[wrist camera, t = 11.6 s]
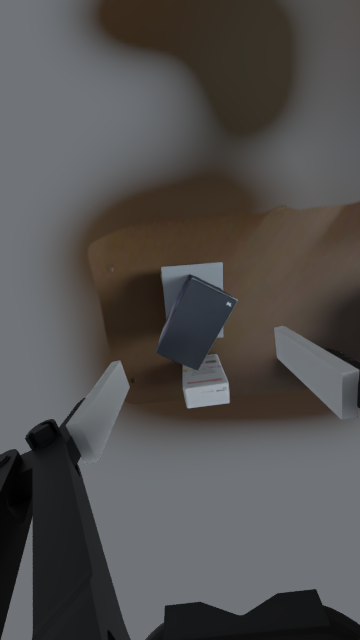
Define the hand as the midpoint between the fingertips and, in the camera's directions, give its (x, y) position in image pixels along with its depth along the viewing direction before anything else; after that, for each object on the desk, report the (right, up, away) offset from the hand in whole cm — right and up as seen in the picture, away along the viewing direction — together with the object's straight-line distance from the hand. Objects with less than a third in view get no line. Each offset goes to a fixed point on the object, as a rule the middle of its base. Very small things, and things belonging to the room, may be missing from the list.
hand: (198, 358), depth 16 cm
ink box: (+4, -8, +30) cm, 31 cm away
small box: (0, +5, +17) cm, 18 cm away
